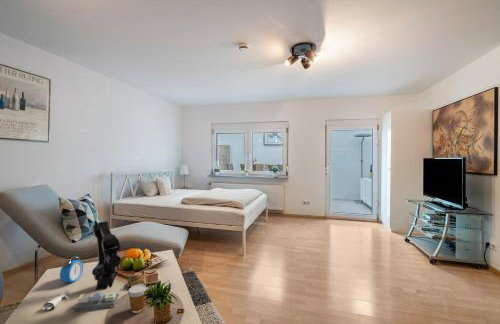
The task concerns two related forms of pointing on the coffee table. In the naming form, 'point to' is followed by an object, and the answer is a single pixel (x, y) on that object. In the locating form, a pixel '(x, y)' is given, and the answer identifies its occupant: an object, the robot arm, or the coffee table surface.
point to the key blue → (97, 296)
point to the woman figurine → (55, 301)
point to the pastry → (135, 279)
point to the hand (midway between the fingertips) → (110, 286)
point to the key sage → (110, 297)
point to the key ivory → (83, 298)
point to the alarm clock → (71, 270)
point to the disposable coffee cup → (137, 297)
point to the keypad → (95, 304)
